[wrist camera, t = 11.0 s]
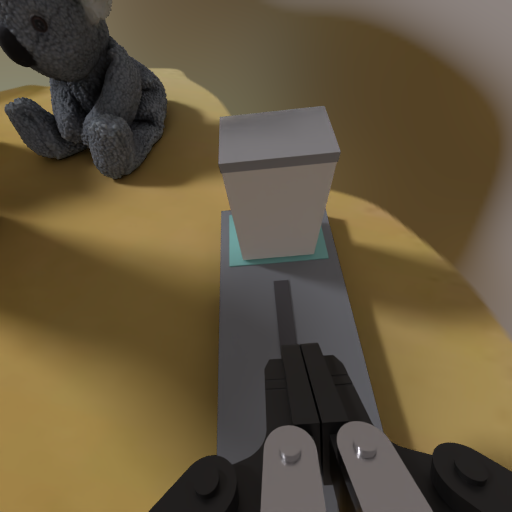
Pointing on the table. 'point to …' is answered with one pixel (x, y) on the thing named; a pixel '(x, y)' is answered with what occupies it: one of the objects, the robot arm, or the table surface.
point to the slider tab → (278, 178)
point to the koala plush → (82, 85)
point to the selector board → (278, 333)
